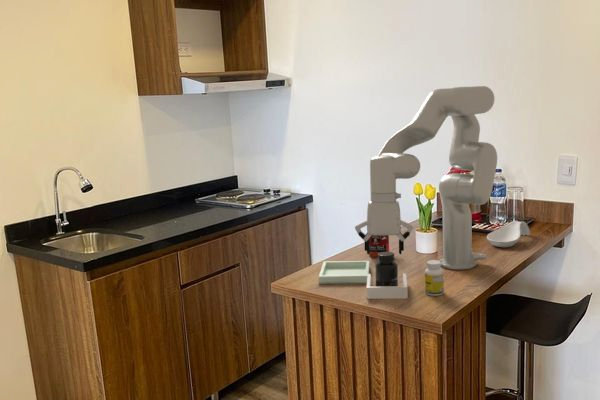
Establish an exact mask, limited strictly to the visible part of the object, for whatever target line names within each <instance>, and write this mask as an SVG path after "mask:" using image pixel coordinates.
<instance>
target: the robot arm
mask: <svg viewBox="0 0 600 400" xmlns="http://www.w3.org/2000/svg"><path fill="white" fill-rule="evenodd" d="M494 94H495V93H494V91H493V90H492V89H491V88H490V87H488V86H485V85H481V86H480V85H479V86H477V85H476V86H474V85H473V86H456V87H451V88H449V87H448V88H438V89H435V90H432V91H431V92H430V93H429V94H428V96H427V97H426V98H425V100H424V102H423V104H422V105H421V107H420V108H419V110H418V112H416V114H415V116H414V117H413V119H412V120H411V121H410V123H409V124H407V125H406V126H404V127H403V128H402V129H401V128H400V130H398V131H397V132H396V133H394V134H393V135H392V136H391V137H390V138H388V140H386V141H385V143H384V145H383V146H382V148H381V149H380V151H379V153H378V155H377V156H373V157H371V158H370V161H369V176H370V178H369V179H370V180H369V181H370V183H369V184H370V200H369V201H368V203H367V209H366V220H365V221H363V222H361V223H359V224H357V225H355V226H354V229H355V231H356V233H357V235H358V237H360V238H361V239H362V240H363V241H364V251H365V252H366V255H369V253H370V245H369V238H370V237H371V235H389V236H396V237H397V238H398V254H399V255H402V253H403V252H404V250H405V240H406V239H407V238H408V237H410V235H411V233H412V231H413V229H414V226H413V225H412V224H411V223H408V222H406V221H404V220H402V219H401V218H402V217H401V207H400V203H399V201H398V200H397V199H401V198H402V194H401V193H398V192H397V180H398V179H399V180H400V179H402V180H405V179H406V180H407V179H412V178H414V177H416V176H417V175H418V174H419V172H420V171H421V162H420V159H419V158H418V157H417V156H415V155H413V154H411V153H405V152H406V151H407V150H409V149H411V148H413V147H415V146H418V145H422V144H424V143H427V142H429V141H431V140H433V139H434V138H435V137H436V135H437V134H438V132H439V130H440V129H441V127H442V125H443V124H444V122H445V121H446V119H447V118H448V117H451V119H452V123H453V132H452V138H451V142H450V143H451V144H450V149H449V155H448V162H449V165H450V166H451V167H452V169H456V170H463V171H470V172H471V171H472V172H473V174H467V173H457V172H452V173H451V172H450V173H447V174H445V175H444V176H442V178H440V181H439V184H438V192H439V198H440V201H441V208H442V210H441V211H442V257H441V258H440V259H439V260H438V261H440V262H441V267H442V268H443V269H449V270H469V269H470V270H471V269H473V268H475V267H476V266H477V263H478V262H477V260H480V261H481V260H483V261H486V260H487V254H486V253H482V252H474V251H473V248H472V247H473V245H472V244H473V243H472V241H473V240H472V239H473V238H472V236H473V235H472V234H473V233H472V230H473V229H472V228H473V227H472V223H473V222H472V220H473V219H472V211H471V208H470V205H475V206H476V205H478V206H481V205H485V204H486V203H487V202H489V200H490V198H491V195H492V192H493V187H494V183H495V182H494V181H495V176H496V171H497V165H498V153H497V150H496V148H495V146H494V145H493V144H492V143H489V142H484V141H482V142H481V141H480V131H481V125H480V122H479V120H478V118H477V116H476V115H481V114H485V113H488V112H489V111H490V110H491V109H492V108H493V106H494V104H495V95H494ZM365 227H366V231H367V232H366V233H364V232H363V231H362V230H361V229H362V228H365ZM402 227H404V228H406V231H405V232H404V233H402V232H401V231H402ZM402 251H403V252H402ZM441 267H440V268H441Z"/></svg>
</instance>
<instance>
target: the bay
mask: <svg viewBox="0 0 600 400" xmlns="http://www.w3.org/2000/svg"><path fill="white" fill-rule="evenodd" d="M365 287H366V299H367V300H373V299H374V300H375V299H376V300H377V299H379V300H381V299H382V300H383V299H385V300H387V299H388V300H389V299H392V300H393V299H395V300H396V299H397V300H398V299H400V300H401V299H406V300H407V299H408V298H409V296H408V280H407V273H404V272H403V273H402V285H398V286H376V285H374V286H372V274H371V273H369V274H368V277H367V283H366V286H365Z"/></svg>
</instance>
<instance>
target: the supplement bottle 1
mask: <svg viewBox="0 0 600 400" xmlns="http://www.w3.org/2000/svg"><path fill="white" fill-rule="evenodd" d="M377 260H378V261H376V262H375V266H374V267H375V268H374V270H375V271H374V272H375V286H399V271H398V268H399V267H398V264H397V262H396V261H395V253H394V252H392V251H389V252H380V253H378V258H377Z"/></svg>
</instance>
